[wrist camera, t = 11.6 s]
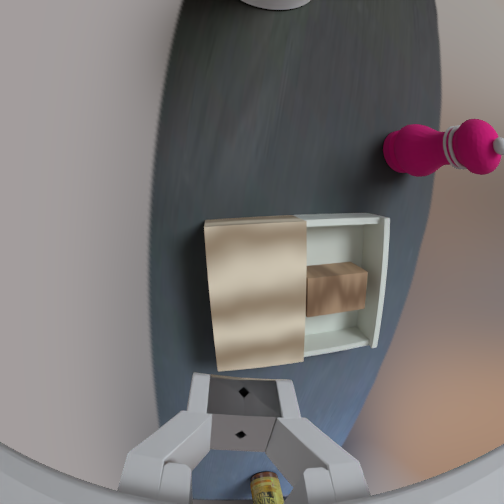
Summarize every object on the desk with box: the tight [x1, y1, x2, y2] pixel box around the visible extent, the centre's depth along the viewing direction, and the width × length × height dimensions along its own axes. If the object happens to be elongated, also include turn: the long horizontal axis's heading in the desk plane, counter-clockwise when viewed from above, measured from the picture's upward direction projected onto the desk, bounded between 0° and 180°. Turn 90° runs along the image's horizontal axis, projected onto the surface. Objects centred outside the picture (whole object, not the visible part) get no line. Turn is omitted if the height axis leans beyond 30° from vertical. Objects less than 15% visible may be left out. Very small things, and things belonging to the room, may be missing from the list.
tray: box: [293, 213, 390, 357], centre depth 38 cm, size 18×11×6 cm, turn 2°
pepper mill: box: [383, 119, 504, 177], centre depth 28 cm, size 7×7×20 cm
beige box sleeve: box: [204, 215, 307, 371], centre depth 36 cm, size 18×11×6 cm, turn 2°
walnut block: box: [306, 262, 368, 317], centre depth 37 cm, size 5×5×8 cm
